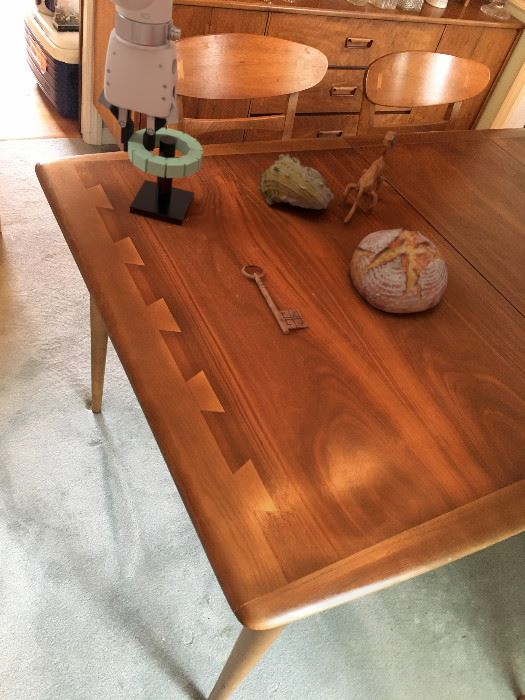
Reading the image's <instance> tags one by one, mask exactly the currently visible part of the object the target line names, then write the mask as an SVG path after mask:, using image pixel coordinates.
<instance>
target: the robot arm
mask: <svg viewBox="0 0 525 700" xmlns="http://www.w3.org/2000/svg"><path fill="white" fill-rule="evenodd" d="M108 1H109V2H111V3H112V4H114V7H115V8H114V11H115V12H114V15H115V16H114V28H112V30H111V31H110V34H109V38H108V44H107V49H106V56H105V64H104V77H103V78H104V80H103V88H102V90H101V92H100V94H99V95H98V98H97V102H98V103H99V104H100V105H101V106H103V107H104V108H106V109H107V110H109V111H110V113H111V114H112V115H113V117H114V118H115V119H116V120H117V123H118V126H119V127H120V144H123V151H122V152H123V153H128V142H129V139H130V137H131V136H132V135H133V133H135V122H134V120H133V118H132V113H133V112H137V113H141V114H145V115H146V127H145V128H146V131H145V132H144V134H143V145H144V147H145V149H146V150H148V151H149V152H154V151H155V148H156V146H155V138H156V131H158V130H160V129H161V128H165V127H166V126H173V125H177V124H179V123H180V121H181V119H182V118H181V114H180V111H179V108H178V105H177V97H178V96H177V95H178V94H177V93H178V53H177V45H176V42H175V41H174V40H181V36H182V29H181V28H178V27H177V26H175V25H174V23H173V21H174V18H172V17H173V6H174V5H173V3H174V0H108Z"/></svg>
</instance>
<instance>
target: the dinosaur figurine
mask: <svg viewBox="0 0 525 700" xmlns="http://www.w3.org/2000/svg"><path fill="white" fill-rule="evenodd" d="M400 131H401V127H399V128H398V130H397V131H393V130H389V131H387V132H386V134H385V136H384V138H383V141H382V147H383V150H382V152H381V156H380V157H379V158H377V159H376V160H374V161H372V164H370V166H369V168H368V169H367V168H364V169H362V175H361V177H360V178H359V180H358V181H357V182H350V183H348V184H347V185H346V186H345V188H344V192H343V195H342V202H343V204H344V205H345V204H346V203H347V201H348V196H349V195H350V193H351V192H352V191H353V190H355V191H356V192H358V193H357V196H356V198H355V201H354V203H353V205H352V207H351V209H350V211H349V213H348V214H347V216H346V217H345V218H344V220H343V222H344V223H345V224H347V223H348V222H349V221H350V219H351V218H352V217H353V215H354V213H355V212H356V209H357V208H358V205H359V203H360V200H361V199H362V195H365V196H368V197H370V198H371V201H370V205H369V207H368V209H367V215H371V214H372V213H373V211H374V209H375V206H376V204H377V203H378V201H379V195H378V194H379V193H380V190H381V189H382V188H381V187H382V186H383V183H384V182H385V180H386V177H385V176H383V175H382V174H383V172H384V170H385V168H386V164H385V163H386V162H385V161H384V159H385V157H386V156H387V152H388V151H389V150H392V149H394V148H395V144H396V141H397V140H398V138H397V137H398V135H399V133H400ZM375 183H376V184H375ZM374 185H375V187H374ZM373 188H374V189H373Z"/></svg>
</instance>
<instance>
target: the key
mask: <svg viewBox="0 0 525 700" xmlns="http://www.w3.org/2000/svg"><path fill="white" fill-rule="evenodd" d="M246 269H255V270H258V271H259V272H260V273H261V274H259V275H258V274H257V273H256V272H253V274H249V273H248V272H246ZM265 273H266V272H265V270H264V268H262V267H260V266H259V265H256V264H247V265H243V267H242V268H241V274H242V275H243V276H245V277H247V278H248V279H252V280H253V279H254V280H255V282H256V284H257V286H258V288H259V291H260V292H261V294H262V295H263V297H264V299H265V301H266V303H267V304H268V306H269V308H270V310H271V312H272V314H273V316H274V318H275V319H276V321H277V323H278V324H279V327H280V329H281V330H282V332H283V334H285V335H287V334H289V333H290V330H293V329H295V330H296V329H303V328H308V325H307V323H306V321H305V319H304V318H303V316H302V314H301V312H300V311H299V309H289V310H279V309H278V308H277V306H276V304H275V302H274V301H273V299H272V297H271V295H270V293H269V291H268V290H267V287H266V286H265V284H264V283H263V281H262V278H263V277H264V276H265Z"/></svg>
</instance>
